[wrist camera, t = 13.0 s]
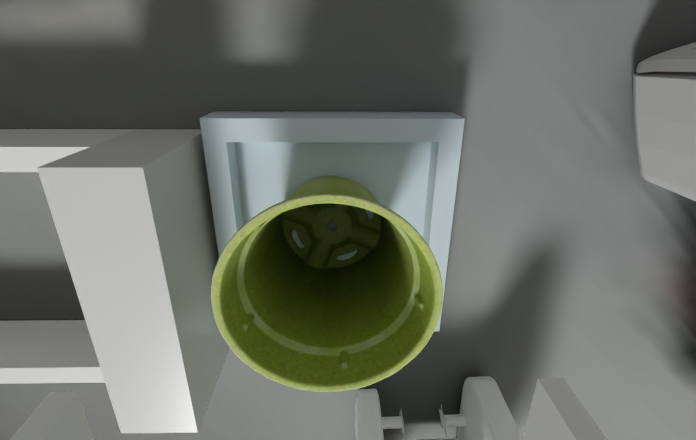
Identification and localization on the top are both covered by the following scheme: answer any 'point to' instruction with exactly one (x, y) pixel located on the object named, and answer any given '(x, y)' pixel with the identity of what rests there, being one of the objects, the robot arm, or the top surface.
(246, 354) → the plant pot
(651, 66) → the stereo radio cassette player
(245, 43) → the top surface
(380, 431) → the cable organizer
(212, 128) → the tray
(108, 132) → the bay
